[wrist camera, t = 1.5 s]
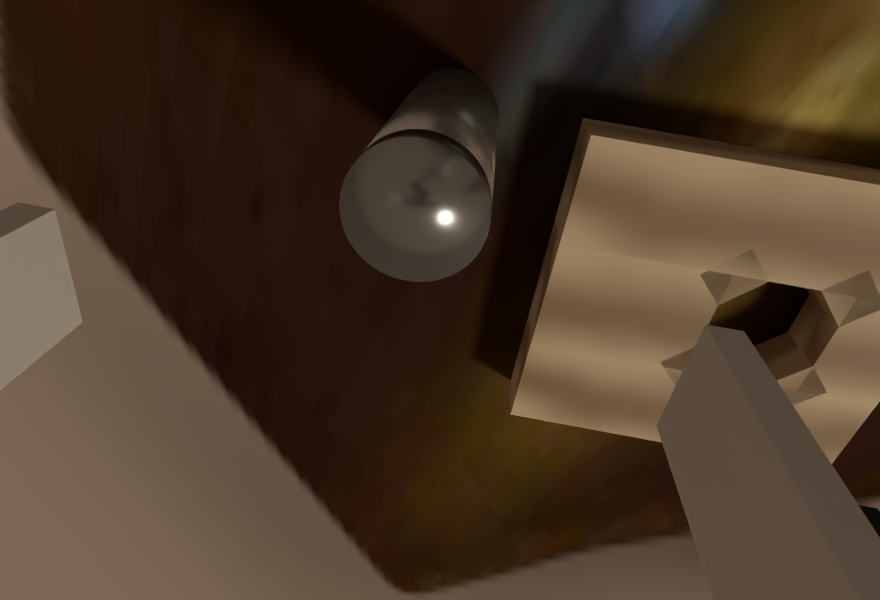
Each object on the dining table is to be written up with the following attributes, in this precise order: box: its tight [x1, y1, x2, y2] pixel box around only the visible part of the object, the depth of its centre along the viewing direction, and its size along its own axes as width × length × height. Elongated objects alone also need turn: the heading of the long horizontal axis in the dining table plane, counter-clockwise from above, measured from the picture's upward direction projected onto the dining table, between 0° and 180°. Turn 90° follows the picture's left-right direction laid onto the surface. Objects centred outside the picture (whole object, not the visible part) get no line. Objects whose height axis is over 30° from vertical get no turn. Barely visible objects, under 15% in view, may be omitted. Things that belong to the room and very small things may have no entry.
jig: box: [511, 118, 880, 464], centre depth 28 cm, size 16×18×3 cm
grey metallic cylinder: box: [339, 68, 499, 282], centre depth 21 cm, size 4×4×12 cm
